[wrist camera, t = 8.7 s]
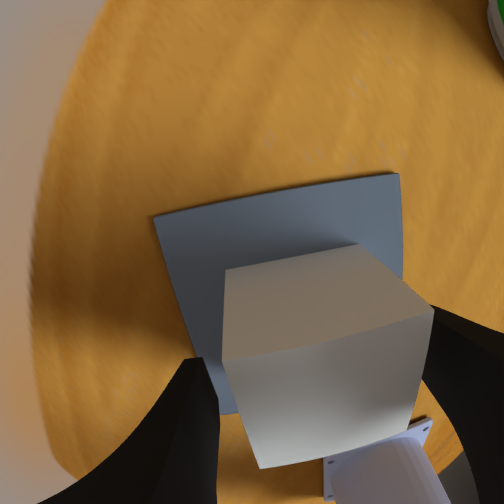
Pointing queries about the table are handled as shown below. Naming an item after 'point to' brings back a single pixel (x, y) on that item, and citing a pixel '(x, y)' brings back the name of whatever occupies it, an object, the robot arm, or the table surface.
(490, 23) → the soda can
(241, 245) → the mat
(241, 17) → the table surface
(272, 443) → the cream block
